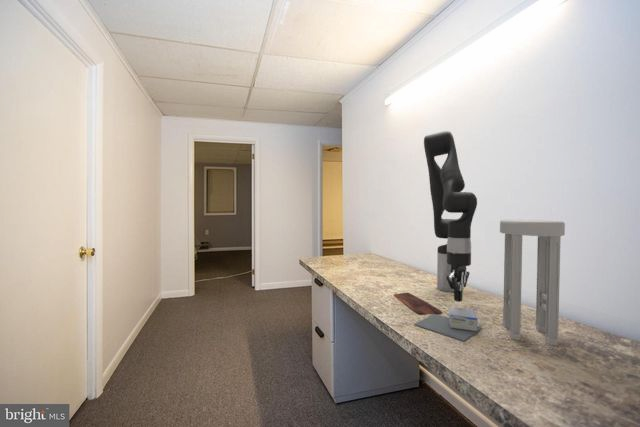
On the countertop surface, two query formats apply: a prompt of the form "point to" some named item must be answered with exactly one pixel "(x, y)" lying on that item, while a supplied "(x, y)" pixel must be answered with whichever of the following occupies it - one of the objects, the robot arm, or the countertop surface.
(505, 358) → the countertop surface
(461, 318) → the medicine box
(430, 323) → the mat
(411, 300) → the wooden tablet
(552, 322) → the stool
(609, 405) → the countertop surface
